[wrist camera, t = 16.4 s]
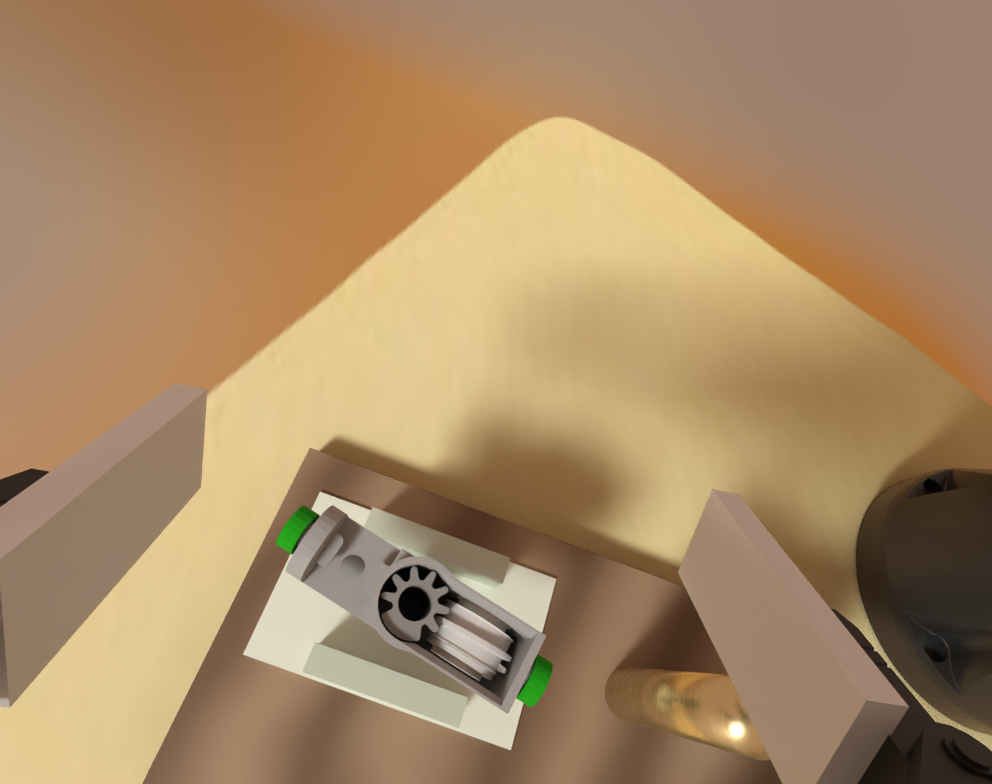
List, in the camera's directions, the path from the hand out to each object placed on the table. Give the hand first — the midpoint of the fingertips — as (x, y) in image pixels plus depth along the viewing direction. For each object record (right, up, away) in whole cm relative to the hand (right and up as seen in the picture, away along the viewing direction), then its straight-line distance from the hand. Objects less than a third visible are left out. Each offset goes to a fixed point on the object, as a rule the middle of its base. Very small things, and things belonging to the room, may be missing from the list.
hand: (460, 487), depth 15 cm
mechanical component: (-4, -8, +14) cm, 16 cm away
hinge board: (+2, -13, +14) cm, 20 cm away
